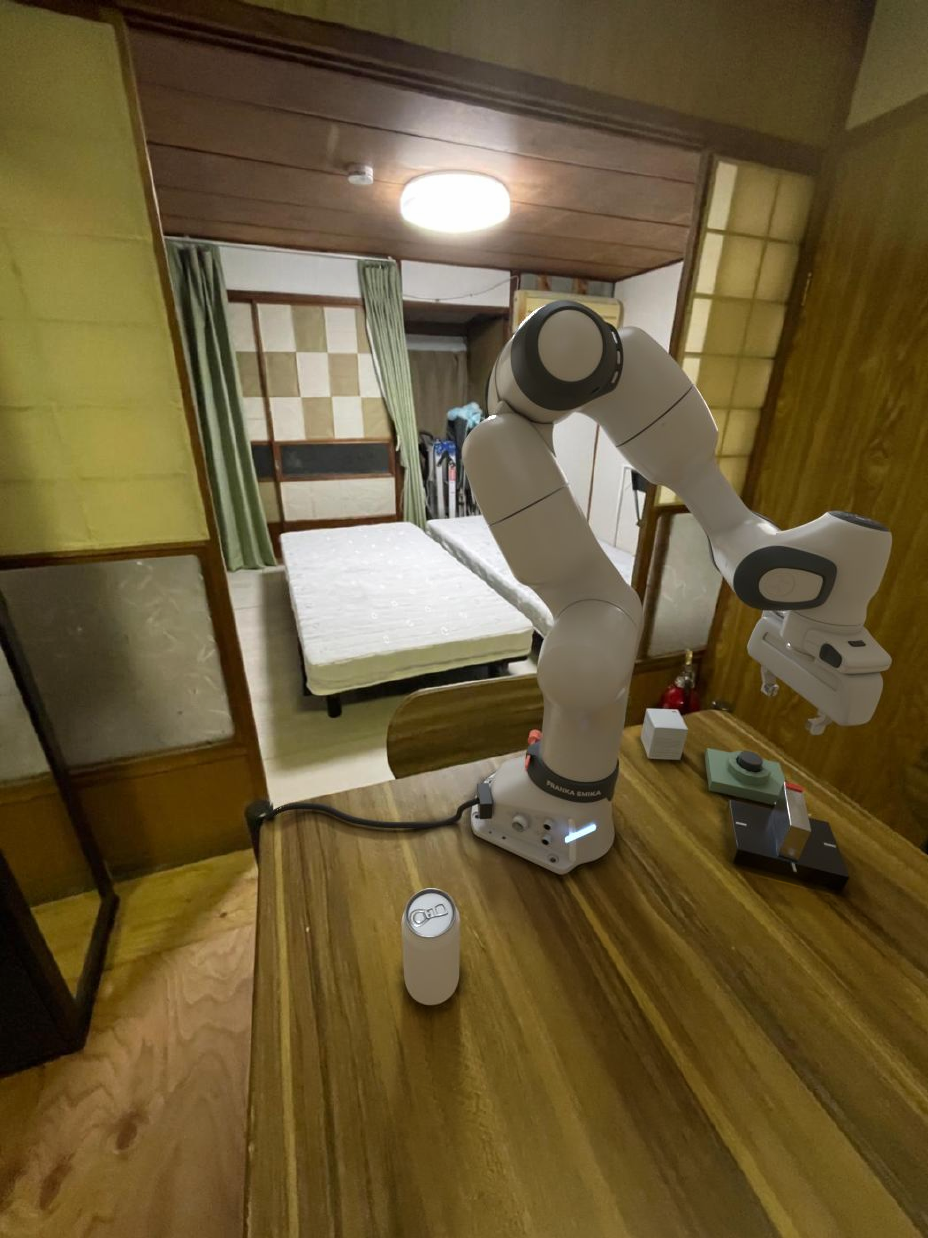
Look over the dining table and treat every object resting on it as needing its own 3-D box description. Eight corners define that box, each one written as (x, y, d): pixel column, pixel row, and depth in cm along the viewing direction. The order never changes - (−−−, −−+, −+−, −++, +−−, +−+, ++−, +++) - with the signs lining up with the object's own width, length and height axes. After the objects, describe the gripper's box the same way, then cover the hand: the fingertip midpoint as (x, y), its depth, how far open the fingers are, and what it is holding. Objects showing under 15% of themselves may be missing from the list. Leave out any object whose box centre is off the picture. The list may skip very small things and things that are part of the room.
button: (738, 769, 88) (741, 762, 87) (735, 756, 91) (738, 748, 90) (762, 774, 87) (764, 766, 86) (758, 761, 90) (761, 753, 89)
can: (398, 961, 62) (393, 896, 57) (448, 941, 64) (448, 877, 59) (413, 1017, 57) (410, 951, 52) (467, 994, 59) (469, 928, 54)
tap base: (734, 872, 74) (739, 856, 73) (723, 805, 85) (728, 791, 84) (846, 901, 70) (854, 886, 69) (819, 828, 81) (826, 813, 80)
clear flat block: (798, 861, 72) (812, 830, 69) (778, 855, 73) (790, 823, 70) (790, 816, 79) (803, 785, 77) (772, 810, 80) (784, 780, 78)
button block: (709, 790, 88) (714, 772, 86) (704, 757, 96) (709, 740, 94) (787, 808, 85) (794, 790, 83) (776, 772, 93) (782, 754, 91)
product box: (639, 737, 101) (645, 707, 97) (671, 739, 100) (678, 708, 97) (647, 759, 95) (654, 727, 92) (681, 761, 95) (689, 729, 92)
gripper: (749, 600, 80) (728, 676, 86) (859, 670, 61) (822, 759, 68) (786, 598, 81) (762, 673, 87) (905, 666, 62) (864, 755, 69)
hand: (789, 711), depth 77 cm, fingers open, 8 cm apart
